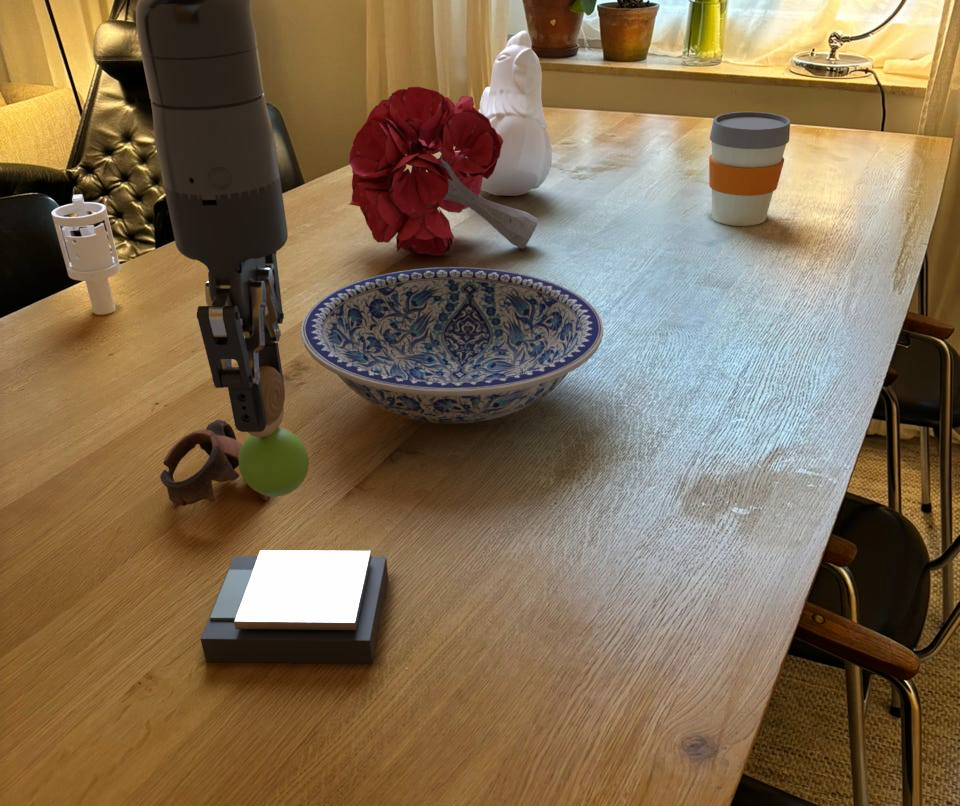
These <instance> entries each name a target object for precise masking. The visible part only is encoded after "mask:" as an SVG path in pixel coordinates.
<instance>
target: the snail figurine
mask: <svg viewBox="0 0 960 806" xmlns="http://www.w3.org/2000/svg"><path fill="white" fill-rule="evenodd" d="M259 372H260V383H261V389H262V395H263V401H264V407H265V413H266V419H267V425H266V427H265V429H264V430H263V431H262V432H247V433H248V434H249V436H247V437H246V438H245V440H244V441H243V442H242V447H241V449H240V453H239V466H238V469H239V472H240V474H241V477H242V478H243V480H244V481H245V483H246V484H247V485H248V487H250V488H251V489H252V490H253V491H255V492H257V493H258V494H260V495H261V494H263V495H266V496H269V497H282V496H286V495H289V494H291V493H292V492H295V491H296V490H297V489H298V488H299V487H300V486H301V485H302V484H303V482H304V481H305V480H306V477H307V475H308V470H309V464H310V463H309V461H310V460H309V455H308V451H307V448H306V447H305V445H304V443H303V441H302V440H301V439H300V438H299V437H298V436H297V435H296V434H295V433H293V432H292V431H290V430H289V429H286V428H283V427H280V425H281V423H282V421H283V418H284V412H285V411H284V410H285V408H284V405H285V400H286V399H285V398H286V388H285V381H284V382H283V380H284V378H283V379H282V377H281V375H280V373H279V372H278V371H277V370H276V369H275V368H273V367H270V366H262V367H260V368H259Z"/></svg>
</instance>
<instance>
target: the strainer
mask: <svg viewBox="0 0 960 806" xmlns="http://www.w3.org/2000/svg"><path fill="white" fill-rule="evenodd" d="M88 212H89V213H90V212H93V213H91V214H88ZM71 214H76V215H77V216H66V215H71ZM51 218H52V221H53V224H54V229H55V232H56V235H57V239H58V242H59V243H58V244H59V246H60V250H61V254H62V257H63V261H64V264H65V268H66V271H67V276H68V277H69V278H70V279H72V280H73V281H74V280H75V281H78V282H79V281H81V282H85V285H86V289H87V293H88V296H89V300H90V304H91V307H92V312H93V314H95V315H99V316H101V315H102V316H103V315H109V314H112V313H114V312H115V311H116V306H115V301H114V298H113V294H112V290H111V285H110V282H109V278H112V277H115V276H116V275H117V274H120V272H121V270H122V269H121V265H120V264H121V263H120V260H119V256H118V251H117V248H116V247H117V246H116V244H115V239H114V235H113V230H112V227H111V223H110V219H109V214H108V209H107V206H106V205H105V204H104V203H100V202H95V201H85V199H84V196H83V193H80V194H79V193H78V194H73V195H72V203H68V204H64V205H60V206H58V207H56V208H54V209H53V210H52V211H51ZM103 221H104V222H103ZM98 223H99V224H98ZM95 224H98V225H97V226H95ZM61 227H62V228H61ZM74 231H79V232H80V235H81V236H72V234H71V232H74ZM74 241H75V242H74Z"/></svg>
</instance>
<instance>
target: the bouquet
mask: <svg viewBox="0 0 960 806" xmlns="http://www.w3.org/2000/svg"><path fill="white" fill-rule="evenodd" d="M474 105H475V102H474V98H473V96H470V95H461V96H460V98H458V100H457V102H456V103H454V102H453V101H452V100H451V99H450V98H449V97H447V96H444V95H443V94H442V93H440V92H439V91H437V90H434V89H428V88H425V87H421V86H409V87H408V88H407V89H406V88H401V89H397V90H395V91H394V92H392V93H391V95H390V96H389V97H388V99H382V100H381V101H380V102H379V103H378V104H377V105H375V106H374V108H372V110H371V111H370V112H369V114H368V116H367V119H366V122H365V123H364V124H363V125H362V126H361V128H360V129H359V130H358V132H356V134H355V136H354V139H353V142H352V146H351V149H350V151H349V165H350V167H351V170H352V178H351V188H352V193H351V200H350V202H349V203H348V205H350V206H353V207H354V206H355V207H359V210H360V211H361V213H362V215H363V216H364V219H365V223H366V225H367V227H368V229H369V230H370V232H371V236H372V239H373V240H375V242H377V243H380V244H382V243H385V244H388V243H390V242H391V241H392V239H393V238H394V237H395V236H396V237H395V239H396V241H395V242H396V252H399V251H401V249H402V250H404V251H406V252H407V251H408V252H414V253H417V254H425V255H426V254H428V255H431V256H435V257H436V256H442V255H443V256H444V255H445V254H448V253H450V250H451V248H452V249H454V244H455V243H454V242H455V236H454V234H453V232H452V229H451V228H452V227H451V224H450V220H449V218H447V216H446V215H445V214H444V212H443V211H446V212H448V213H458V214H460V213H462V212H463V210H466V209H470V210H472V211H474V212H475V213H477V214H478V215H479V216H480V217H482V218H483V219H484V220H485V221H486V222H487V223H488V224H489V225H491V227H492V228H493V229H494V230H496V231H497V233H499V234H500V235H501V236H502V237H504V238H505V239H506V240H507V241H508V242H509V243H510V244H511V245H513V246H515V247H517V248H519V249H521V250H523V249H525V247H526V246H527V245H528V243H529V241H530V239H531V238H532V236H533V234H534V232H535V230H536V228H537V224H538V221H539V219H538V218H537V217H535V216H534V215H532V214H530V213H529V212H527V211H524V210H520V209H517V208H514V207H511V206H507V205H504V204H501V203H498V202H494V201H492V200H489V199H486V198H483V197H482V196H481V193H482V190H480V189H481V185H482V181H483V177H484V178H486V179H488V178H489V177H490V176H491V175H492V174H493V172H494V169H495V167H496V164H497V160H498V158H499V157H500V151H501V148H502V144H503V140H502V137H501V136H500V135H499V134H497V133H496V130H495V129H494V128H492V127H491V124H490V120H489V119H488V118H487V117H485V116H484V115H483V114H481V113H479V110H477V108H475V107H474ZM438 153H440V156H439V157H437V156H434V155H435V154H438ZM466 157H467V158H466ZM407 166H411V170H410V169H409V168H407ZM441 209H442V210H443V211H442V210H441Z"/></svg>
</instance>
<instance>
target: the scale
mask: <svg viewBox="0 0 960 806" xmlns="http://www.w3.org/2000/svg"><path fill="white" fill-rule="evenodd" d="M257 557H258V555H233V556H232V558H231V562H230V564H229V567H228V569H227V571H226V573H225V576H224V579H223V581H222V584H221V586H220V589H219V591H218V594H217V597H216V599H215V601H214V604H213V607H212V609H211V611H210V614H209V617H208V619H207V622H206V624H205V626H204V629H203V631H202V634H201V637H200V643H201V646H202V650H203V655H204V659H205V662H206V663H265V664H266V663H269V664H270V663H273V664H274V663H275V664H276V663H279V664H353V665H354V664H357V665H358V664H361V665H363V664H365V665H366V664H367V665H368V664H369V665H370V664H371V665H372V664H374V659H375V658H374V657H375V651H376V647H377V646H376V645H377V641H378V637H379V631H380V626H381V622H382V621H381V620H382V615H383V610H384V605H385V600H386V599H385V598H386V595H387V588H388V584H389V572H388V571H389V570H388V561H387V560H388V559H387V556H371V563H370V567H369V572H368V577H367V581H366V586H365V591H364V595H363V600H362V605H361V609H360V614H359V619H358V623H357V628H356V630H276V629H235V624H234V620H235V618H236V615H237V612H238V609H239V607H240V604H241V601H242V598H243V596H244V593H245V590H246V588H247V585H248V582H249V579H250V577H251V574H252V571H253V568H254V566H255V563H256V560H257Z"/></svg>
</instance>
